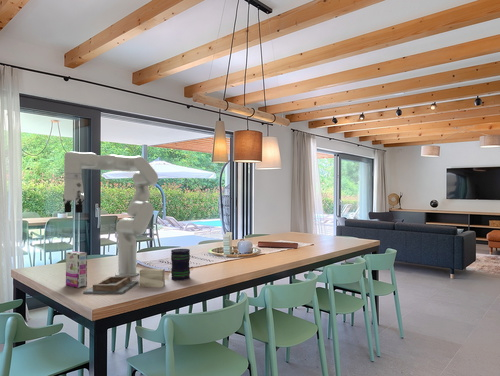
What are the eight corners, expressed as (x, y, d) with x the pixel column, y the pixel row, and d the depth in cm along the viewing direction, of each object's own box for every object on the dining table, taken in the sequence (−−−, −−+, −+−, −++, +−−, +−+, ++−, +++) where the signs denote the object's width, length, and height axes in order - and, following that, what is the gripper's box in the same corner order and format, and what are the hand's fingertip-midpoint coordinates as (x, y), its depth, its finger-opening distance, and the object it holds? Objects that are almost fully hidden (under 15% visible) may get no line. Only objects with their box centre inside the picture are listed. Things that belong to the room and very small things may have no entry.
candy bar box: (87, 286, 176) (87, 252, 176) (78, 288, 172) (77, 254, 172) (74, 283, 182) (74, 250, 182) (65, 285, 178) (65, 252, 178)
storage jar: (172, 276, 195) (172, 248, 195) (190, 275, 196) (190, 248, 196) (169, 280, 185) (169, 251, 185) (189, 280, 186) (188, 251, 186)
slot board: (103, 282, 182) (103, 275, 182) (138, 282, 181) (138, 275, 181) (83, 293, 162) (83, 285, 162) (122, 293, 161) (122, 286, 161)
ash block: (142, 285, 177) (142, 268, 177) (164, 285, 177) (164, 268, 177) (139, 287, 173) (139, 270, 173) (162, 287, 172) (161, 270, 172)
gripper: (90, 176, 173) (90, 212, 173) (70, 178, 183) (71, 211, 183) (75, 176, 167) (75, 213, 167) (56, 177, 176) (56, 212, 176)
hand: (73, 212), depth 175 cm, fingers open, 9 cm apart
